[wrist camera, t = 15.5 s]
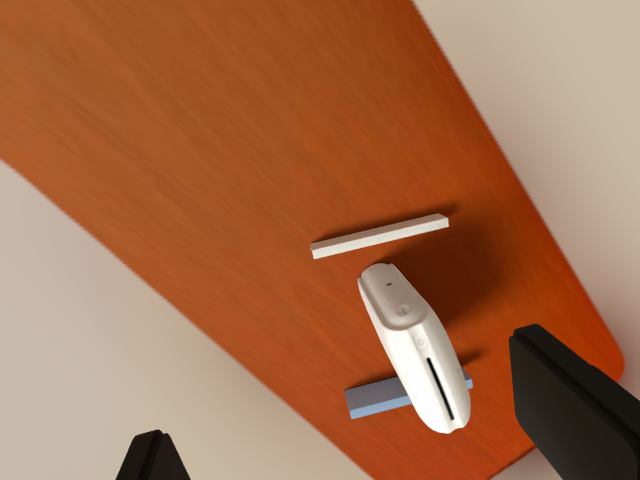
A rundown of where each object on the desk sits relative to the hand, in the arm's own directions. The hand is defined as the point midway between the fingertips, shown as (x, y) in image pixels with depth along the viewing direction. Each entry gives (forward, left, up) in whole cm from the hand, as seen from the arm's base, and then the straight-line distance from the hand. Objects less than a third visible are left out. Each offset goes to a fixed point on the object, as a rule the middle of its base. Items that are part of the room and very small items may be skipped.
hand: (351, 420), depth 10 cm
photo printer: (+11, +7, -25) cm, 28 cm away
